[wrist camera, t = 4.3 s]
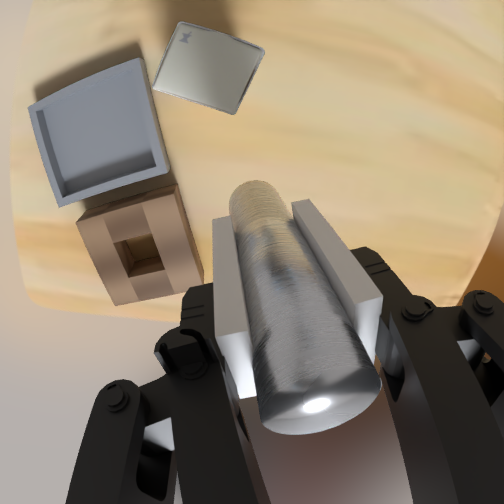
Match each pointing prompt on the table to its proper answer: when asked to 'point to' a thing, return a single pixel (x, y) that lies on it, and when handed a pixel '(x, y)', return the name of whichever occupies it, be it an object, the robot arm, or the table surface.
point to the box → (207, 67)
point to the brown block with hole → (137, 224)
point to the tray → (100, 133)
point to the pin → (295, 322)
